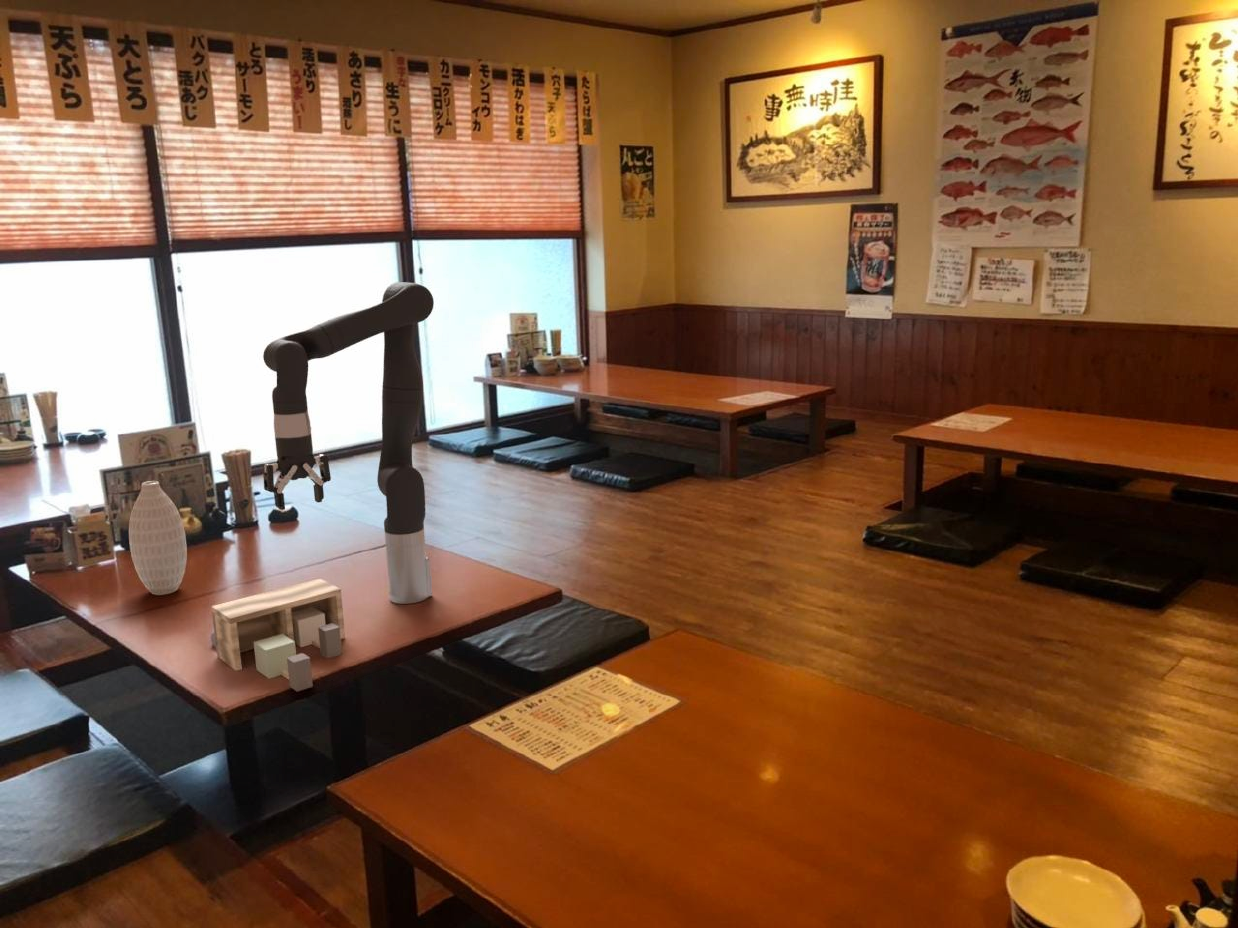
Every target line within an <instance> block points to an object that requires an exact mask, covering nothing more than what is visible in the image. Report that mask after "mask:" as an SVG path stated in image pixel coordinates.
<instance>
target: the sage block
mask: <svg viewBox="0 0 1238 928" xmlns="http://www.w3.org/2000/svg"><path fill="white" fill-rule="evenodd" d="M253 649H254V658H255V667H256V671H258V672H259V673H260V674H262V675H263V676H265V677H266V679H268V680H269V679H273V678H275V677H279V676H282V677H285V679H287V680H288V681H289V687H290V688H291V689H293V691H295V692H297V693H298V692H300V691H304V690H306V689H309V688H313V675H312V667H311V665H312V664H311V657H309V656H308V655H306V654H305V653H304V652H301V653H298V654H297V651H296V644H295V642H294V641H293V640H291V639H290V638H288V637H286V636H285V635H283V634H280V635H276V636H273V637H269V638H266V639H263V640H259V641H256V642H254V648H253Z"/></svg>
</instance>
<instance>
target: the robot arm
mask: <svg viewBox="0 0 1238 928" xmlns="http://www.w3.org/2000/svg"><path fill="white" fill-rule="evenodd" d="M381 300H382V301H381V302H380V303H378V304H375V305H373V306H370V307H368V308H364V309H361V310H357V311H353V312H350V313H345V314H342V315H338V316H335V317H333V318H331V319H328V320H325V321H323V322H320V323H318V324H316V325H313V326H312V327H309V328H308V329H305V330H302V331H298V332H295V333H291V334H289V335H285V336H282V337H280V338H277V339H275V340H273V341H271V342H270V343H269V344H267V346H266V347H265V348H264V351H263V355H262V356H263V357H262V358H263V361H264V363H265V365H266V367H267V368H268V369H269V370H271V371H273V372H276V386H274V388H272V391H271V392H272V393H271V399H272V400H271V401H272V410H273V431H274V440H275V451H276V457H277V461H276V462H275V463H263V465H262V470H263V471H262V475H263V489H264V490H265V491H266V492H269V493H273V497H274V506H275V507H276V508H278V510H280V511H284V510H286V505H285V495H284V494H285V493H284V492H283V491H284V489H285V488H286V486H287V485H288V484H289V483H290V481H297V480H298V479H307V478H308V479H309V480H311V482H312V483H313V494H314V495H313V496H314V501H315V502H316V503H322V502H323V500H324V497H325V494H324V492H325V491H324V485H325V484H326V483H327V482H330V481H331V479H332V477H331V470H330V464H329V458H328V455H326V454H322V453H318V455H316V456H314V453H313V452H314V450H313V449H314V448H313V437H312V436H313V435H312V427H311V420H310V416H309V411H308V407H309V406H308V400H307V385H308V375H309V361H312V360H315V359H316V360H317V359H324V358H327V357H330V356H332V355H334V354H336V353H338V352H341V351H343V350H345V349H347V348H349V347H351V346H353V345H356V344H358V343H361V342H362V341H365V340H368V339H369V338H372V337H375V336H377V335H380V334H383V340H384V342H383V344H384V346H383V347H384V349H383V369H382V370H383V375H382V387H381V388H382V395H381V436H382V437H381V448H380V450H381V451H380V456H379V464H378V471H377V477H376V478H377V486H378V489H379V491H380V492H381V494H382V495H383V496H384V497H385V500H386V517H385V519H383V520H384V522H383V527H384V541H385V553H386V565H387V578H388V587H389V588H388V591H389V593H388V594H389V599H390V602H392V603H394V604H398V605H399V604H402V605H406V604H408V605H409V604H415V603H420V602H422V601H425V600H427V599H428V598H429V597H431V596H433V588H432V587H433V586H432V574H431V570H432V569H431V560H430V558H429V557H428V556H427V551H426V550H427V549H426V539H425V537H426V536H425V525H424V524H425V523H424V521H425V518H426V494H425V493H426V491H425V483H424V482H425V481H424V478H423V475H422V474H421V473H420V471H419V470H418V469H417V468H415V467H414V466H413V441H414V436H415V432H416V430H417V427H418V423H419V420H420V417H421V413H422V407H423V395H424V394H423V389H424V383H423V382H424V381H423V375H422V370H421V368H420V367H421V366H420V363H419V360H418V358H417V354H416V351H415V346H414V345H415V343H414V333H415V324H418V323H422V322H423V321H426V320H427V319H428V318H429V316H430V315H431V314H432V312H433V310H434V306H435V305H434V301H435V300H434V297H433V294H432V293H431V291H430V290H429V289H428V288H427V287H425V286H424V285H422V284H419V283H417V282H406V281H405V282H404V281H398V282H393V283H391V284H390V285H388V286H387V288H386V289H385V291H384V293H383V296H382V299H381ZM315 464H316V465H318V466H319V475H320V476H319V475H318V473H317V472H315V470H314V469H313V468H314V466H315ZM277 470H278V471H279V473H278V476H277V477H276V481H274V478H275V477H274V475H275V473H276V472H277Z"/></svg>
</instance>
